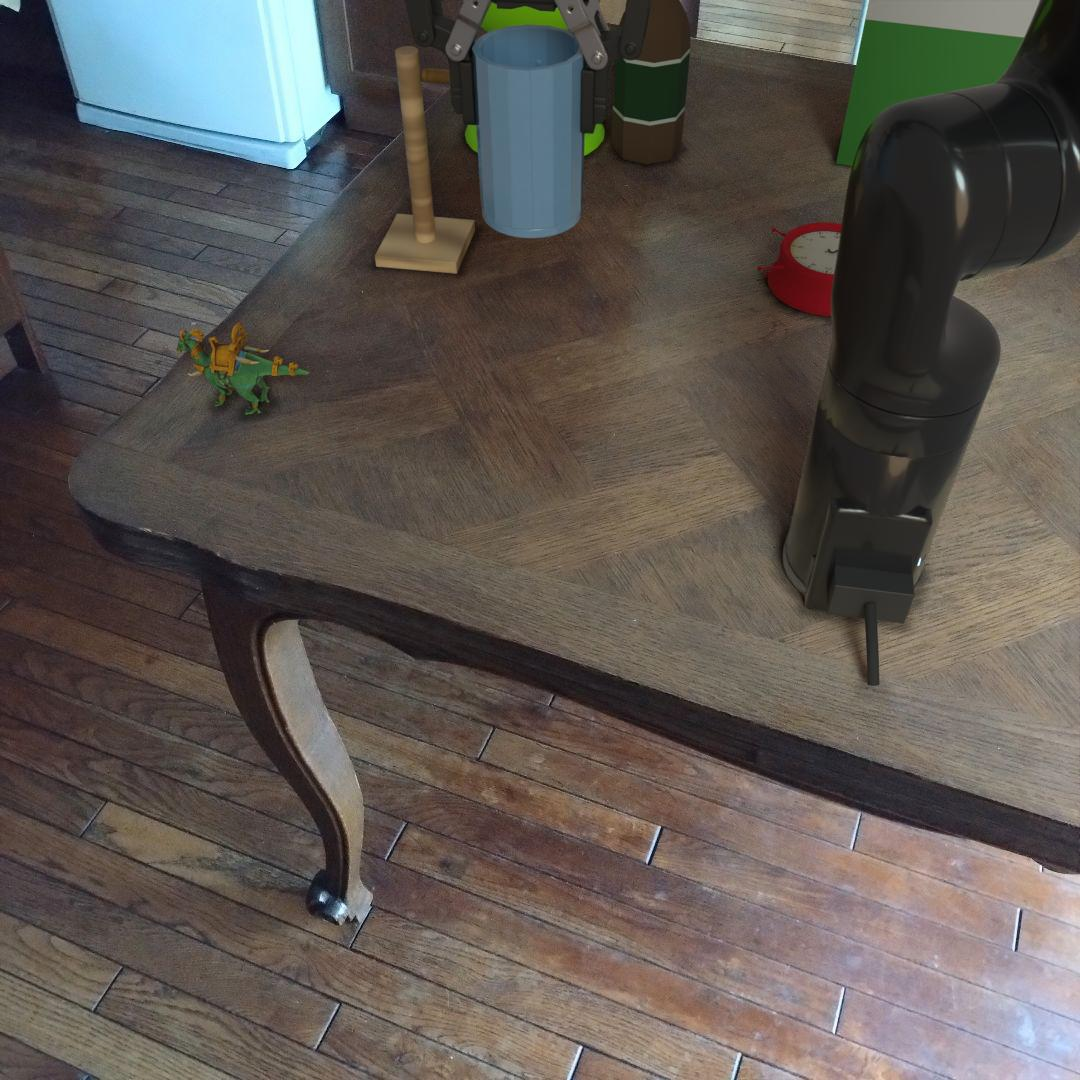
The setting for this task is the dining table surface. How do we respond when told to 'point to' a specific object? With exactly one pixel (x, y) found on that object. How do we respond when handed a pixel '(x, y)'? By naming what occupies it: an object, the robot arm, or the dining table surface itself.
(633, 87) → the beer bottle
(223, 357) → the figurine
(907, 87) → the hardback book
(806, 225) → the alarm clock
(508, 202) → the mug
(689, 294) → the dining table surface
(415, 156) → the mug stand
